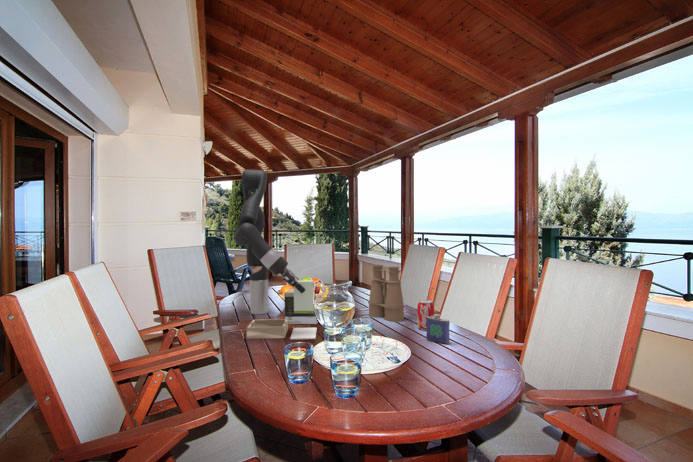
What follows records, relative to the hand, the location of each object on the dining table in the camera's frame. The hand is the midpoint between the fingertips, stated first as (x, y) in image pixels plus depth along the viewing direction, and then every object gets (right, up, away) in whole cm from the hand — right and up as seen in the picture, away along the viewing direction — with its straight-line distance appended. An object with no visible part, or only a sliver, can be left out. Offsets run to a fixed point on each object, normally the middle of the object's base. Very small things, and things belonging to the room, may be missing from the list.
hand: (303, 290), depth 149 cm
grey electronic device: (-3, -18, +19) cm, 26 cm away
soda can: (+52, -17, +5) cm, 55 cm away
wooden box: (-15, -18, 0) cm, 23 cm away
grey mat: (0, -18, 0) cm, 18 cm away
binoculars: (+37, -17, +25) cm, 48 cm away
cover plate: (0, -8, 0) cm, 8 cm away
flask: (+53, -18, -12) cm, 57 cm away
